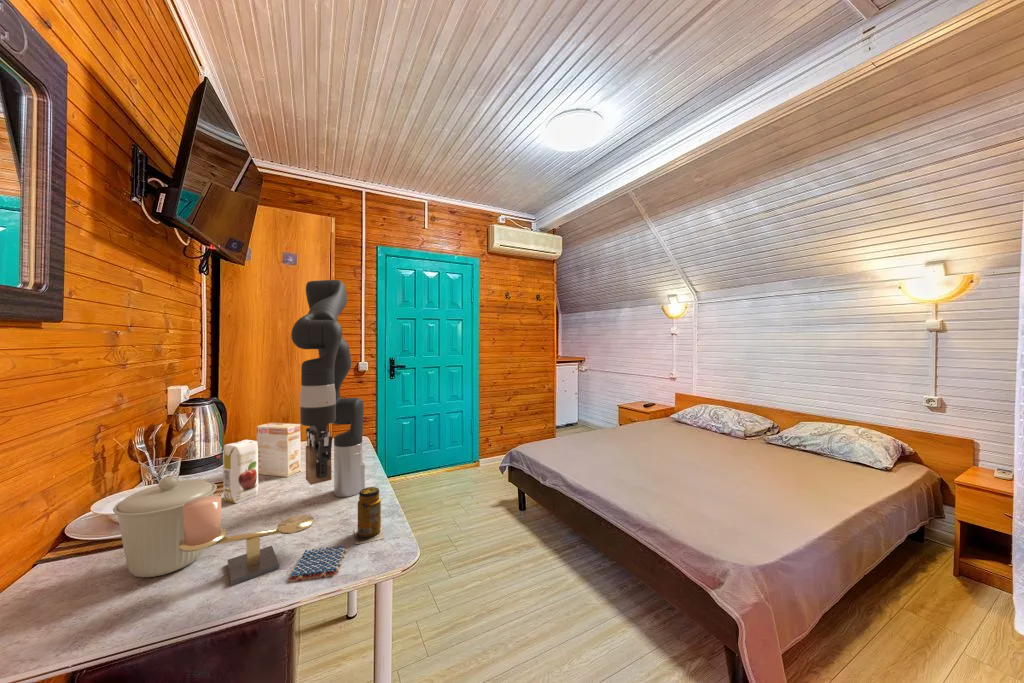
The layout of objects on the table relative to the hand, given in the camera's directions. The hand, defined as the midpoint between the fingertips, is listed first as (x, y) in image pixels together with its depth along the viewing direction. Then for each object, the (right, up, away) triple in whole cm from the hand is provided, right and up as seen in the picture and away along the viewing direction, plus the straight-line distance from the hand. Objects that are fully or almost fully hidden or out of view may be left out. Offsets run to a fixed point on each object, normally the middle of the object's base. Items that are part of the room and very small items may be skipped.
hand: (318, 474), depth 87 cm
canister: (-37, -22, +1) cm, 43 cm away
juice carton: (-46, -22, +37) cm, 63 cm away
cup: (-22, -12, -6) cm, 26 cm away
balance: (-16, -22, 0) cm, 27 cm away
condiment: (+6, -22, +14) cm, 27 cm away
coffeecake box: (-48, -22, +60) cm, 80 cm away
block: (0, -1, 0) cm, 1 cm away
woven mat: (0, -23, 0) cm, 23 cm away
